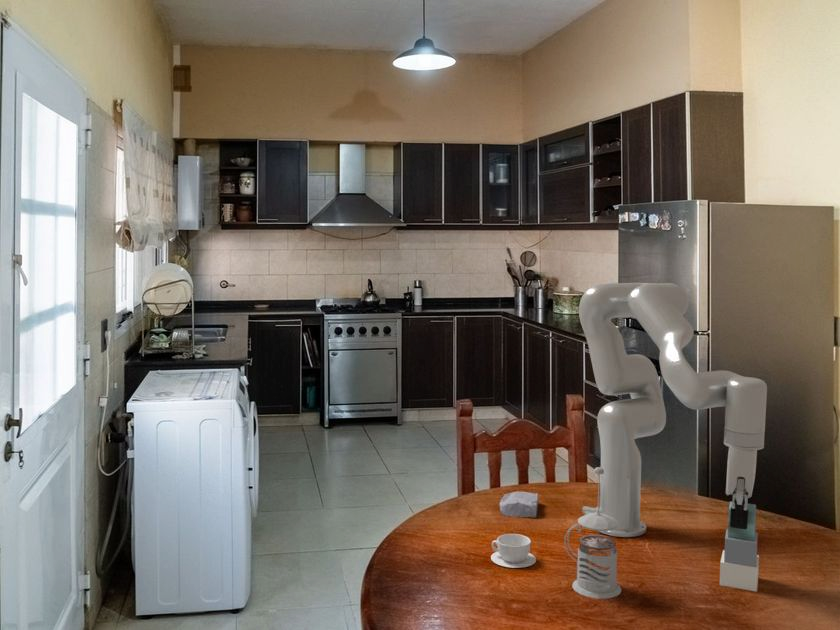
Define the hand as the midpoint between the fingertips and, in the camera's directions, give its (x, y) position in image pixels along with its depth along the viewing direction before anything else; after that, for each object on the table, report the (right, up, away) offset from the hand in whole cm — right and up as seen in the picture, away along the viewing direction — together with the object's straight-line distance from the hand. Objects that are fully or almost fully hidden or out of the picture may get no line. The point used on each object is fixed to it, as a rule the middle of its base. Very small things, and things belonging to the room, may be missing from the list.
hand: (739, 519), depth 159 cm
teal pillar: (0, -3, 0) cm, 3 cm away
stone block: (-40, -10, +44) cm, 60 cm away
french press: (-31, -13, -1) cm, 33 cm away
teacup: (-45, -12, +12) cm, 48 cm away
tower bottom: (0, -13, +1) cm, 13 cm away
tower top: (0, -8, 0) cm, 8 cm away
